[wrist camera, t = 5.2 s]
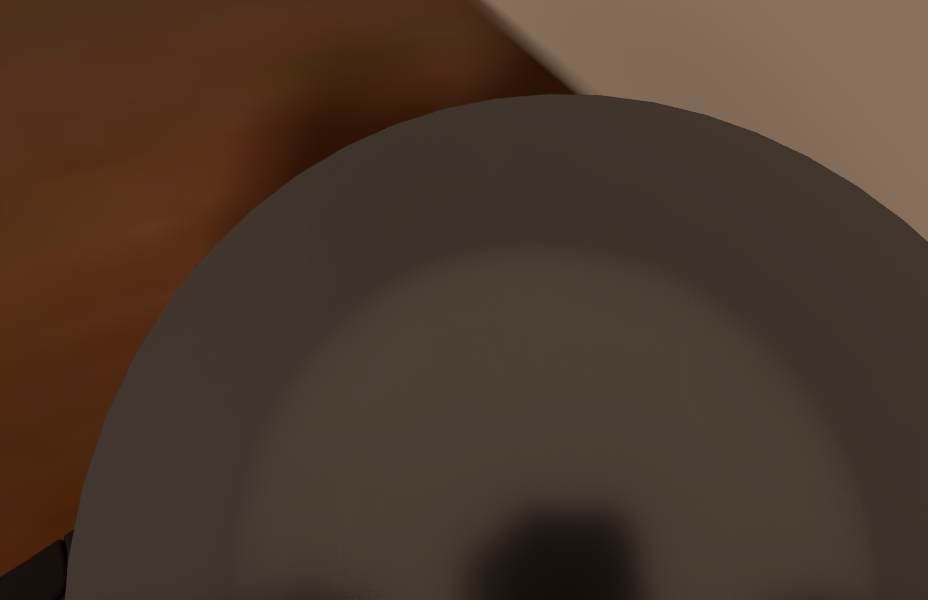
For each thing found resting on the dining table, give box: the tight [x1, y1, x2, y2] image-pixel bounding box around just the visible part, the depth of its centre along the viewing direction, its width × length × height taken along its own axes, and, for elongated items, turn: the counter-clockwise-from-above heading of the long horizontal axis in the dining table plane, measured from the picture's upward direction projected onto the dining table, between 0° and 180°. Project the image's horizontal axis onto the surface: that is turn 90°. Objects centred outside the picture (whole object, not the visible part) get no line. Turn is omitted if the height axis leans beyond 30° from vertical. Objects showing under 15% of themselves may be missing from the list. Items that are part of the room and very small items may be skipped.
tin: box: [65, 94, 928, 600], centre depth 9 cm, size 6×6×12 cm
